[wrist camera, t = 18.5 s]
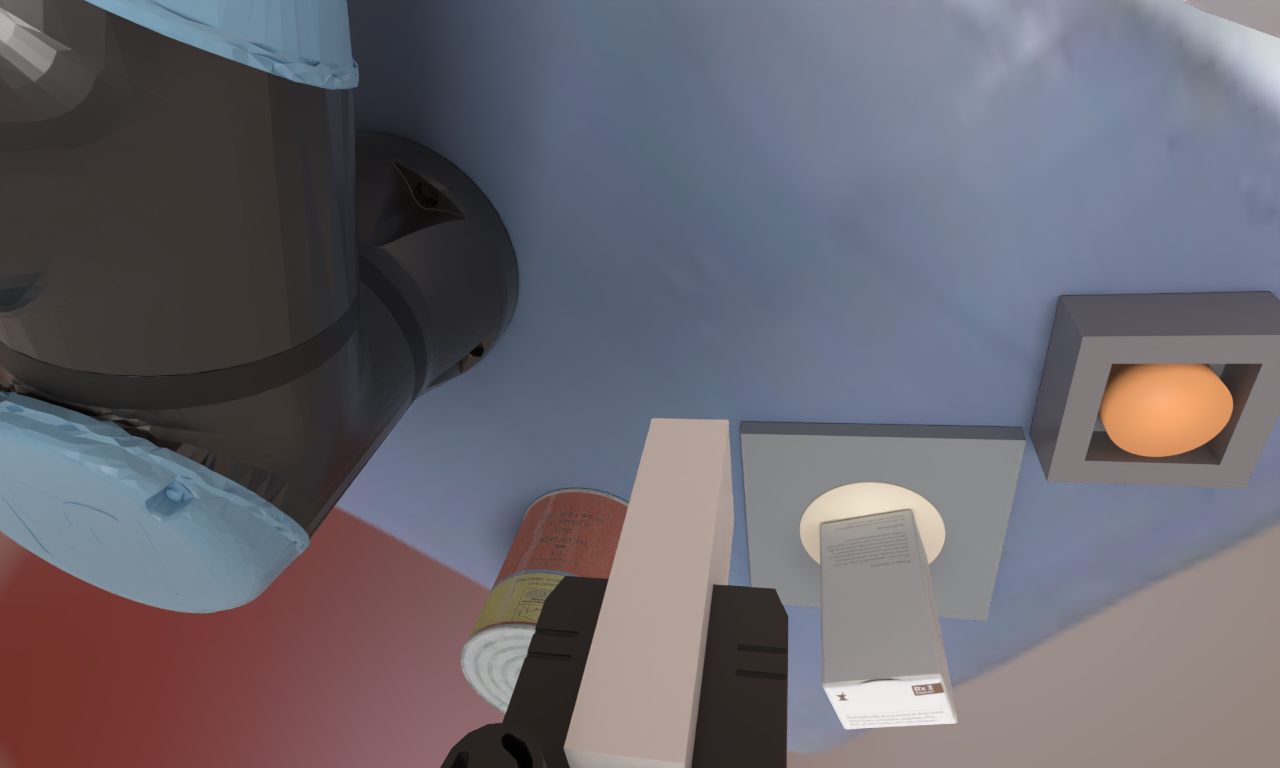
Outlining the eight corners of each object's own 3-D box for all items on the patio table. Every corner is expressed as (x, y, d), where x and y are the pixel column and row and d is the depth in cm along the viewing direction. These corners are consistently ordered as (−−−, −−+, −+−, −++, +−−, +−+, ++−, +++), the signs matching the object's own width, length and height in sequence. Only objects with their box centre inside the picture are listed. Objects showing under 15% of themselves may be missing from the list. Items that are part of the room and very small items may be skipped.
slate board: (753, 589, 54) (752, 604, 53) (742, 421, 45) (740, 435, 44) (983, 606, 50) (987, 623, 49) (1021, 427, 41) (1027, 442, 40)
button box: (1029, 434, 41) (1046, 481, 38) (1060, 295, 36) (1083, 336, 33) (1210, 438, 39) (1245, 488, 36) (1269, 291, 34) (1315, 334, 31)
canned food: (622, 609, 59) (584, 753, 49) (501, 546, 57) (437, 681, 47) (693, 538, 52) (665, 687, 42) (559, 463, 50) (498, 601, 41)
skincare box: (836, 564, 48) (840, 736, 39) (816, 518, 46) (815, 688, 37) (931, 551, 46) (961, 731, 36) (915, 502, 44) (941, 679, 34)
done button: (1081, 427, 38) (1095, 455, 36) (1104, 345, 35) (1119, 370, 34) (1193, 429, 37) (1213, 458, 35) (1226, 344, 34) (1249, 371, 32)
